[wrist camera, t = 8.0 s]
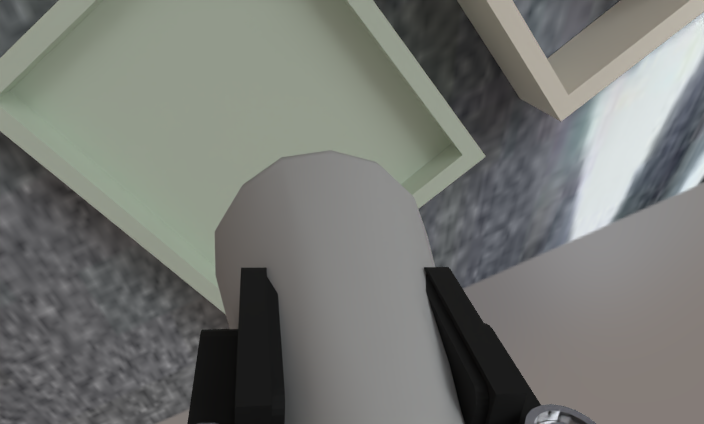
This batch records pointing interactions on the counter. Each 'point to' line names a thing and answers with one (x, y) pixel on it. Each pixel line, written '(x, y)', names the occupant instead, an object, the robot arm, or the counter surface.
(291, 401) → the salt shaker
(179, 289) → the counter surface
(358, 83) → the tray
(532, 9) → the counter surface
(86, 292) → the counter surface
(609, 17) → the square frame
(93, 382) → the counter surface
